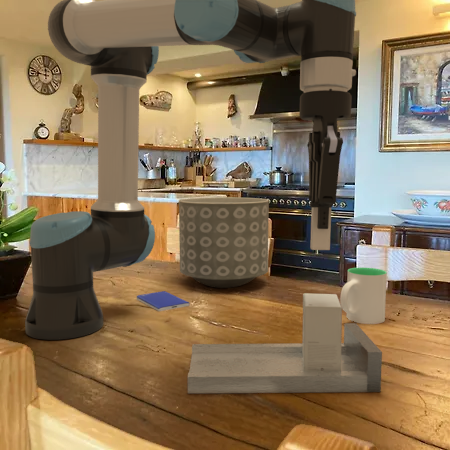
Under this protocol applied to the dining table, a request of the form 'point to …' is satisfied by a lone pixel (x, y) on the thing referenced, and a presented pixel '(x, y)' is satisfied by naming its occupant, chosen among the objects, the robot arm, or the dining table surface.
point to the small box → (321, 332)
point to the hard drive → (162, 301)
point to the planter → (223, 240)
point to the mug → (364, 295)
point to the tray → (284, 368)
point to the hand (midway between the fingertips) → (319, 248)
